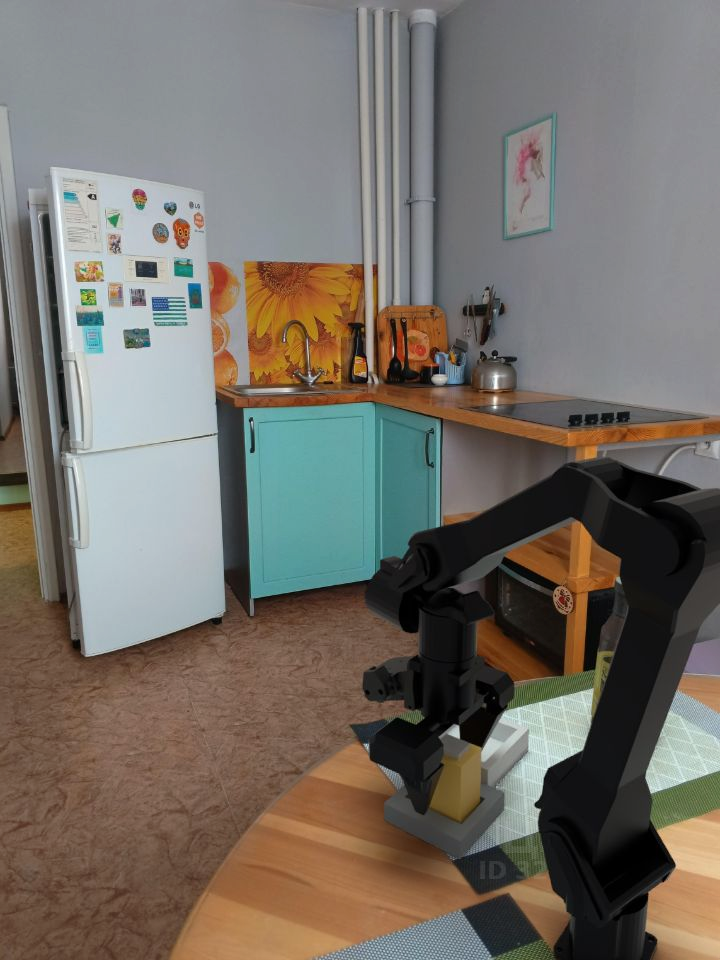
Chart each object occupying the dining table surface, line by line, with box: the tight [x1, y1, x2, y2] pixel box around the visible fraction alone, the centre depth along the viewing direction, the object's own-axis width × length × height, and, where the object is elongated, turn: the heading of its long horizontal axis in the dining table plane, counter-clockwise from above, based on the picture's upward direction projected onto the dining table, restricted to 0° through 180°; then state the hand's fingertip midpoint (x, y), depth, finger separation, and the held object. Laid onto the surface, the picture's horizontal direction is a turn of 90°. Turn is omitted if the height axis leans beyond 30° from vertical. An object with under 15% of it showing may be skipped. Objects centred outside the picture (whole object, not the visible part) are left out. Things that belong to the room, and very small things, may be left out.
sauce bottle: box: [590, 576, 628, 724], centre depth 87 cm, size 7×6×20 cm
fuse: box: [429, 734, 482, 824], centre depth 73 cm, size 4×6×9 cm, turn 52°
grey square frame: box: [383, 782, 506, 860], centre depth 74 cm, size 9×9×2 cm
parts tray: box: [446, 717, 530, 788], centre depth 84 cm, size 10×10×3 cm
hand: (445, 788), depth 74 cm, fingers open, 9 cm apart
